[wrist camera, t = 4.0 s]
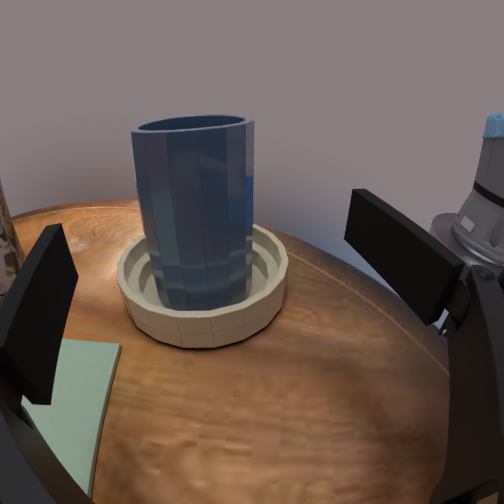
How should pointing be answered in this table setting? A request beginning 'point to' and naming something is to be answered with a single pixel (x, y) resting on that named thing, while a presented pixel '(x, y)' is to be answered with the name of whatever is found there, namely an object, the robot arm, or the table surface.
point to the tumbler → (197, 207)
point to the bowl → (214, 321)
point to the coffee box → (8, 247)
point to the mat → (77, 406)
